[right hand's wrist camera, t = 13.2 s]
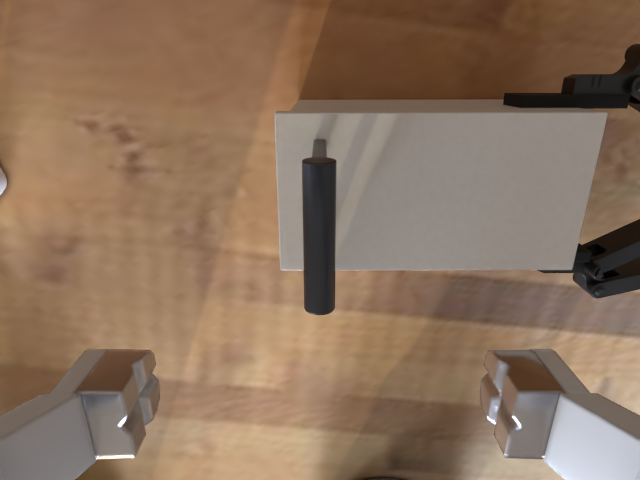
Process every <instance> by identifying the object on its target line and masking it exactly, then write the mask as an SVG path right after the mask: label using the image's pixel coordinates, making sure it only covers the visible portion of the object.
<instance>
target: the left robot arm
mask: <svg viewBox="0 0 640 480" xmlns="http://www.w3.org/2000/svg"><path fill="white" fill-rule="evenodd" d="M625 60H626V61H625V63H624V64H623V66H622V67H621V69H620V70H619V71H617V72H616V73H614V74H572V75H570V76H567V77H565V78H564V80H563V86H562V91H561V93H505V94H504V101H503V105H508V106H513V107H518V108H627V106H628V105H630V106H631V107H633V108H634V109H636V110H637V111H639V112H640V44H634V45H632V46H630V47H629V48H628V49H627V51H626V53H625ZM537 271H540V272H543V273H574V275H573V280H574V281H575V282H576V283H577V284H578V285H579V286H580V287H582V288H583V289H584V290H585V291H586V292H588V293H589V294H590V295H591V296H592V297H594V298H602V297H607V296H611V295H616V294H620V293H625V292H629V291H634V290H638V289H640V219H639V220H637V221H634V222H632V223H630V224H628V225H626V226H623V227H621V228H619V229H617V230H615V231H612V232H610V233H608V234H606V235H603V236H601V237H599V238H597V239H595V240H592V241H590V242H588V243H586V244H584V245H581V244H579V243H578V247H577V251H576V255H575V260H574V264H573V268H572V270H537ZM367 480H401V479H394V478H374V479H367Z"/></svg>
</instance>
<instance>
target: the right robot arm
mask: <svg viewBox="0 0 640 480" xmlns="http://www.w3.org/2000/svg"><path fill="white" fill-rule="evenodd" d="M6 185H7V179H6V176H5V174H4V172H3V170H2V168H1V167H0V195H1V194H2V192H3V191H4V190H5V188H6ZM155 366H156V361H155V357H154V353H153V352H152V351H151V350H124V349H110V350H109V349H89V350H87V351H85V352H84V353H83V354H82V355H81V356H80V357H79V359H78V360H77V361H76V362H75V363H74V365H73V366H72V367H71V368H70V369H69V371H68V372H67V373H66V374H65V375H64V376H63V378H62V379H61V380H60V381H59V382H58V384H57V385H56V386H55V387H54V388H53V390H52V391H51V392H50V393H43V394H41V395H39V396H37V397H35V398H33V399H31V400H29V401H27V402H25V403H23V404H22V405H20V406H18V407H16V408H14V409H12V410H10V411H8V412H6V413H4V414H2V415H0V480H75V479H76V478H77V477H79V476H80V475H81V474H82V473H83V472H84V471H86V470H87V469H88V468H89V467H90V466H91V465H93V464H94V463H95V462H96V459H115V458H135V456H136V454H137V452H138V450H139V448H140V446H141V444H142V442H143V440H144V438H145V436H146V432H145V425H147V424H148V423H149V422H151V421H152V420H153V419H154V416H155V414H156V412H157V409H158V405H159V400H160V385H159V380H158V379H157V378H156V377H155V376H154V375H153V374H152V371H153V370H154V368H155ZM484 366H485V368H486V370H487V371H488V374H487V375H486V376H485V377H484V378H483V379H482V380H481V386H480V399H481V405H482V409H483V412H484V414H485V417H486V419H487V420H488V421H489V422H491V423H492V424H493V425H495V432H494V436H495V438H496V440H497V442H498V444H499V446H500V448H501V450H502V452H503V454H504V456H505V458H524V459H544V460H543V461H544V462H545V463H546V464H548V465H549V466H550V467H551V468H552V469H553V470H555V471H556V472H557V473H558V474H559V475H560V476H562V477H563V478H564V479H565V480H640V416H639V415H638V414H636V413H634V412H632V411H630V410H628V409H626V408H624V407H622V406H620V405H618V404H617V403H615V402H613V401H611V400H609V399H607V398H605V397H603V396H601V395H599V394H597V393H590V392H589V391H588V390H587V388H586V387H585V386H584V385H583V384H582V382H581V381H580V380H579V379H578V378H577V377H576V375H575V374H574V373H573V372H572V371H571V369H570V368H569V367H568V366H567V365H566V363H565V362H564V361H563V360H562V359H561V358H560V356H559V355H558V354H557V353H556V352H555V351H554V350H552V349H531V350H492V351H488V352H487V354H486V356H485V361H484Z"/></svg>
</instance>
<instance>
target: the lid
mask: <svg viewBox="0 0 640 480" xmlns="http://www.w3.org/2000/svg"><path fill="white" fill-rule="evenodd" d="M607 116H608V112H603V111H277V112H275V114H274V117H275V143H276V169H277V195H278V221H279V247H280V269H281V270H304V308H305V310H306V311H307V312H308V313H310V314H314V315H325V314H329V313H331V312H332V311H333V310H334V308H335V270H572V268H573V264H574V260H575V255H576V251H577V247H578V242H579V238H580V234H581V229H582V225H583V220H584V216H585V212H586V207H587V203H588V199H589V194H590V190H591V186H592V181H593V177H594V173H595V168H596V164H597V159H598V155H599V151H600V146H601V142H602V138H603V133H604V129H605V125H606V120H607Z"/></svg>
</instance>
